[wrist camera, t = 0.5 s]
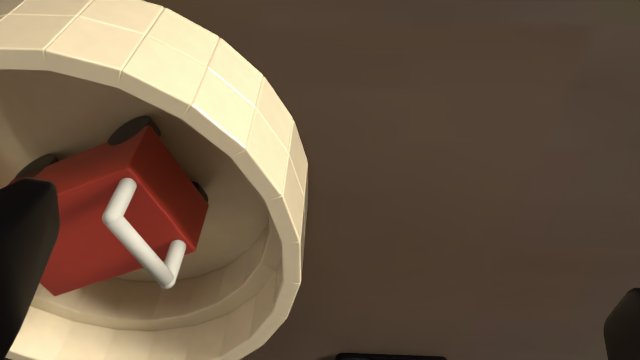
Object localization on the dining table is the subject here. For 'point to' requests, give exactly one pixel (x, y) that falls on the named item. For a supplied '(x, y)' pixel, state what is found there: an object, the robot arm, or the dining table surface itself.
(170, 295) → the bowl
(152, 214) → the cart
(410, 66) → the dining table surface
